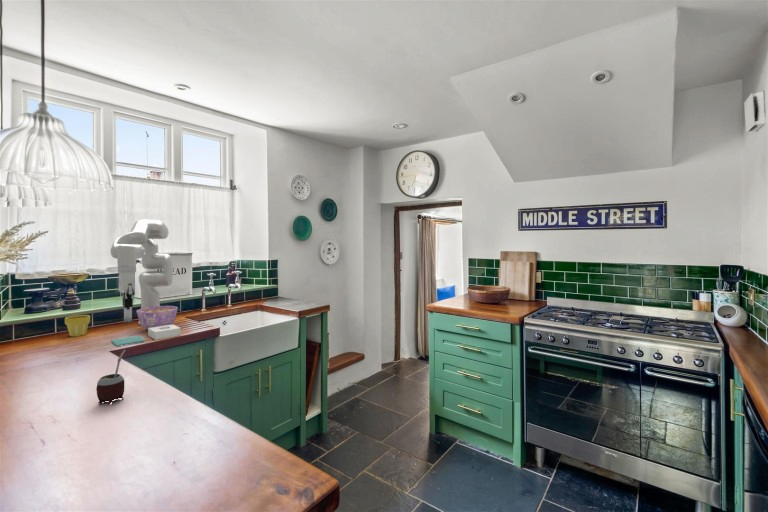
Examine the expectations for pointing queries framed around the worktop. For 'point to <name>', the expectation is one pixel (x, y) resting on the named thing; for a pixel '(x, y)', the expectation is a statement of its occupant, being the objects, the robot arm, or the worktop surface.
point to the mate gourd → (111, 386)
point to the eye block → (164, 331)
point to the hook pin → (127, 313)
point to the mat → (128, 340)
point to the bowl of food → (157, 316)
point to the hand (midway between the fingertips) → (127, 305)
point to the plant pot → (77, 324)
